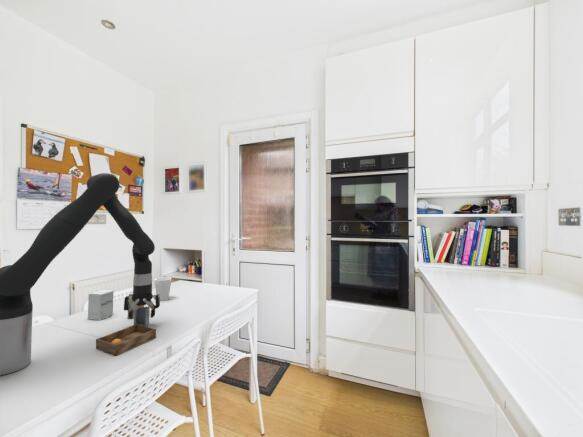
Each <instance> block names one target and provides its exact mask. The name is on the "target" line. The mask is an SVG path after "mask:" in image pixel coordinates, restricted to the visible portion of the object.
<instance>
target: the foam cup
mask: <svg viewBox="0 0 583 437" xmlns="http://www.w3.org/2000/svg"><path fill="white" fill-rule="evenodd" d="M171 285H172V277H171V276H162V277H160V276H159V277H156V278H154V287H155V295H157V294H159V296H160V302H166V301H168V300H169V297H170V292H171ZM165 300H166V301H165Z"/></svg>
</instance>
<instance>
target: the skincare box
mask: <svg viewBox="0 0 583 437" xmlns="http://www.w3.org/2000/svg"><path fill="white" fill-rule="evenodd" d="M128 296H133V291H131V292H129V293H128ZM133 303H134V301H133V300H132V299H131V300H130V301H129V307H131V306H132V305H133ZM138 307H145V305H140V306H138V305H136V306H135V307H134V308H133V319H134V311H135V310H136V309H137V308H138ZM128 319H129V320H130V318H128V316H127V320H128Z"/></svg>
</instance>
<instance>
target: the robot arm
mask: <svg viewBox="0 0 583 437" xmlns="http://www.w3.org/2000/svg"><path fill="white" fill-rule="evenodd" d="M86 187H87V188H86V189H85V190H84V191H83V193H82V194H81V195H80V196H79V197H78V198H76V199H75V200H73V201H72V202H70V203H69V204H67V205H66V206H65V207H63V208H62V209H61V210H59V211H58V212H57V213H56V214H55V215H54V216H52V217H51V219H49V220H48V222H47V223H46V224H45V225H44V226H43V227H42V228H41V229H40V231H39V232H38V234H37V236H36V237H35V238H34V240H33V241H32V244H31V245H30V246H29V249H27V250H26V251H25V253H23V254H22V256H20V257H19V259H17V260H16V261H15V262H14V263H13V264H9V265H5V266H2V267H0V376H3V375H8V374H13V373H14V372H18V371H20V370H22V369H24V368H26V367H28V366H29V365H30V364H31V362H32V342H33V340H32V338H33V336H32V335H33V334H32V333H33V309H34V308H33V306H34V305H33V301H32V297H31V296H32V295H31V289H32V288H33V287H34V286H35V284H37V282H38V280H39V279H40V277H41V276H42V275H43V273H44V272H45V271H46V269H47V268H48V267H49V265H50V264H51V263H52V262H53V260H55V258H56V257H57V256H58V255H60V254H61V252H62V251H64V250H65V248H66V247H67V246H68V245H69V244H70V243H71V242H72V241H73V240H75V238H76V237H77V235H78V234H79V233H80V232H81V231H83V229H84V228H85V226H86V225H87V224H88V223H89V222H90V221H91V219H92V218H93V216H94V215H95V214H96V212H98V210H99V209H100V208H101V207H102V206H103V208H105V210H106V211H107V212H108V213H109V215H110V216H111V217H112V219H113V220H114V221H115V223H116V224H117V226H118V227H119V229H120V230H121V231H122V233H123V235H124V236H125V237H126V238H127V239H128V240H129V241H131V242H132V243H133V245H132V258H133V262H134V266H133V271H134V272H133V280H132V283H133V284H132V285H133V286H132V287H133V288H132V292H133V296H129V295H126V296H125V297H124V301H123V302H124V303H123V311H127V317H128V318H129V320H134V318H133V308H134V307H135V306H136V305H138V306H140V305H144V306H147V307H150V319H152V318H154V317H155V315H156V309H159V307H160V306H161V304H160V303H161V301H160V296H159V294H157V295H156V294H153V272H152V271H153V267H152V266H153V262H152V261H151V260H150V258H149V256H151V255H152V254H153V253H154V252H155V249H156V248H155V247H156V246H155V243H154V242H153V240H152V239H151V237H149V235H148V234H147V233H146V232H145V231H144V230H143V228H142V227H141V225H140V223H139V222H138V220H137V218H135V216H134V215H133V214H132V213H131V212H130V211H129V210H128V209H127V208H126V207H125V205H124V204H123V203H121V201H120V200H119V198H118V197H117V195H116V194H117V192H118V191H119V189H120V181H119V179H118V177H117V176H115V175H114V174H112V173H107V172H104V173H98V174H95V175H92V176H90V177H89V178H88V180H87V181H86ZM131 299H132V300H133V301H134V303H133V305H132V306H131V307H129V301H130V300H131ZM152 299H153V300H155V304H154V302H153V301H152ZM128 318H127V319H128Z"/></svg>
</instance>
